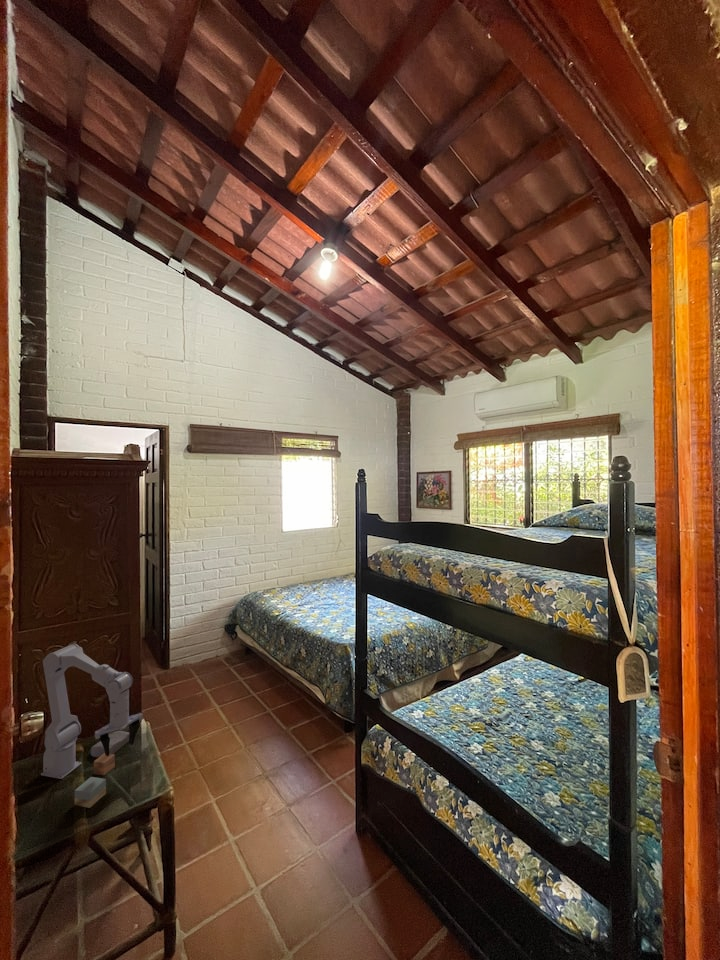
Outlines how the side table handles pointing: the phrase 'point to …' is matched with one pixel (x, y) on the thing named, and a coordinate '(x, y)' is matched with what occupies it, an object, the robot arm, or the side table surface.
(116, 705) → the robot arm
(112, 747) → the stone block
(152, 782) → the side table surface
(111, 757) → the terracotta cube
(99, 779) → the top block
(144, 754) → the side table surface
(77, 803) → the brown block
